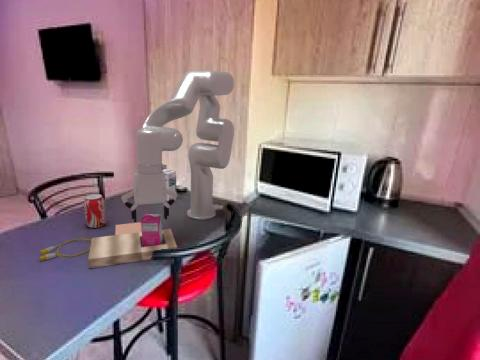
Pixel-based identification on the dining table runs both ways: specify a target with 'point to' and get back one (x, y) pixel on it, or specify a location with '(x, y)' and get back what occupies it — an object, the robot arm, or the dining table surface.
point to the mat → (128, 228)
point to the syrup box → (170, 181)
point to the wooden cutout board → (125, 248)
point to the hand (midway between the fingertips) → (150, 219)
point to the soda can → (94, 210)
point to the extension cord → (50, 256)
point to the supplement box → (151, 230)
